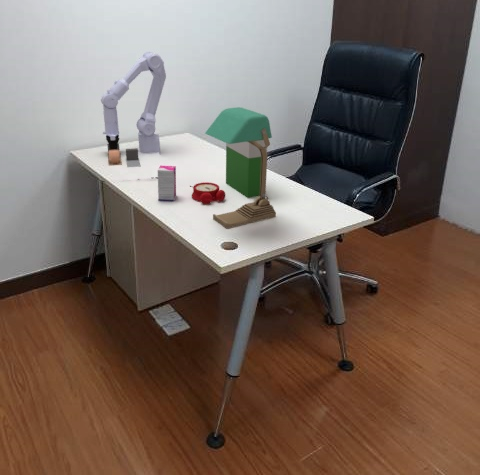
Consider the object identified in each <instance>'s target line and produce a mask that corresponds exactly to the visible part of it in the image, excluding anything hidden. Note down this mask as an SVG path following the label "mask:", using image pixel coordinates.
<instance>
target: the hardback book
mask: <svg viewBox="0 0 480 475" xmlns="http://www.w3.org/2000/svg"><path fill="white" fill-rule="evenodd" d="M254 141H256V142H257V143H259V144H260V145H262V146H263V147H264V146H265V143H264V139H261V140H254ZM225 152H226V153H225V157H226V159H225V184H226V185H227V186H229V187H230V188H232V189H234V190H235V191H237V192H238V193H239V194H241V195H242V196H244V197H245V198H247V199H250V198H255V197H256V198H257V197H260V177H261V153H260V150H259V149H258V148H257V147H256V146H254V145H252V144H250V143H249V142H240V143H233V144H228V143H226V146H225ZM266 152H267V153H268V147H267V148H266Z"/></svg>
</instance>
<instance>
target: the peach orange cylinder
mask: <svg viewBox="0 0 480 475" xmlns="http://www.w3.org/2000/svg"><path fill="white" fill-rule="evenodd" d="M109 150H110V146H109V143H107V161H108V162H107V163H108V164H107V165H108V166H109V167H110V166H123V163H122V162H123V160H122V156H121V154H120V163H118V164H111V163H110V160H109ZM117 150H119V152H120V150H121V149H120V143H119V142H118V145H117Z"/></svg>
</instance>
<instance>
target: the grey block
mask: <svg viewBox="0 0 480 475" xmlns="http://www.w3.org/2000/svg"><path fill="white" fill-rule="evenodd" d="M125 155H126V157H125V161H126V162H125V163H126V167H127V168H136V167H138V168H140V167H141V162H140V158H139V148H126V149H125Z"/></svg>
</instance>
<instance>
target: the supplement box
mask: <svg viewBox="0 0 480 475" xmlns="http://www.w3.org/2000/svg"><path fill="white" fill-rule="evenodd" d="M176 167H177V166H174V165H160V166H159V167H158V168H157V177H158V179H157V194H158V199H157V200H158V201H159V202H175V199H176V197H177V174H176V173H177V170H176V169H177V168H176Z"/></svg>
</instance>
